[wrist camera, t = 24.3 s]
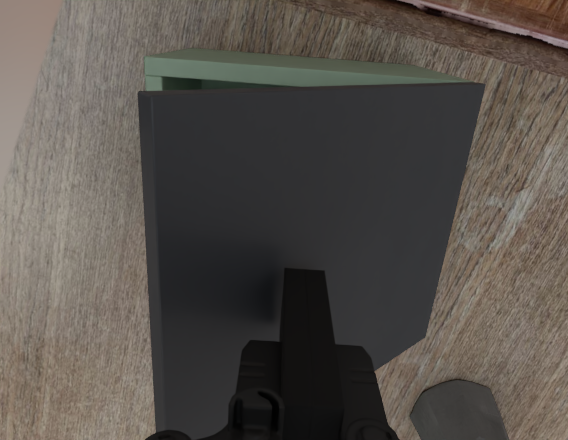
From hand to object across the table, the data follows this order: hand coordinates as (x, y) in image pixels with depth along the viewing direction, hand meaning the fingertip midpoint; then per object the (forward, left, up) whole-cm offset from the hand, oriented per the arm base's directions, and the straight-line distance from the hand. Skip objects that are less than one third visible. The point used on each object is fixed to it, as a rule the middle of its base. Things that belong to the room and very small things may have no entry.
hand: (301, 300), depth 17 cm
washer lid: (+1, +1, -3) cm, 4 cm away
